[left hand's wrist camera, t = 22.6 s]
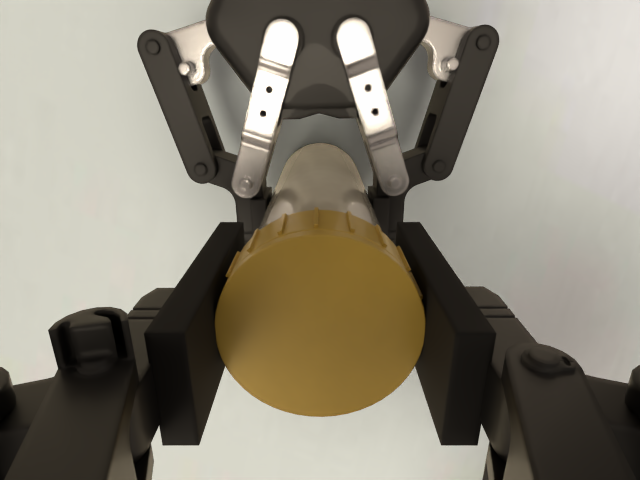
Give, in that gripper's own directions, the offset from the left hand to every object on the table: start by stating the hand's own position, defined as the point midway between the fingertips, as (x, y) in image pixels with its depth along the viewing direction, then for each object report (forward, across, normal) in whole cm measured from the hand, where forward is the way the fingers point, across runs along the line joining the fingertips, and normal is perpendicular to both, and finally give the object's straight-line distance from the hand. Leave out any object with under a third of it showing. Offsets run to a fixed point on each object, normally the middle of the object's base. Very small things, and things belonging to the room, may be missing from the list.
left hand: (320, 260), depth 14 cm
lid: (-4, 0, 0) cm, 4 cm away
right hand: (+5, 0, -3) cm, 6 cm away
